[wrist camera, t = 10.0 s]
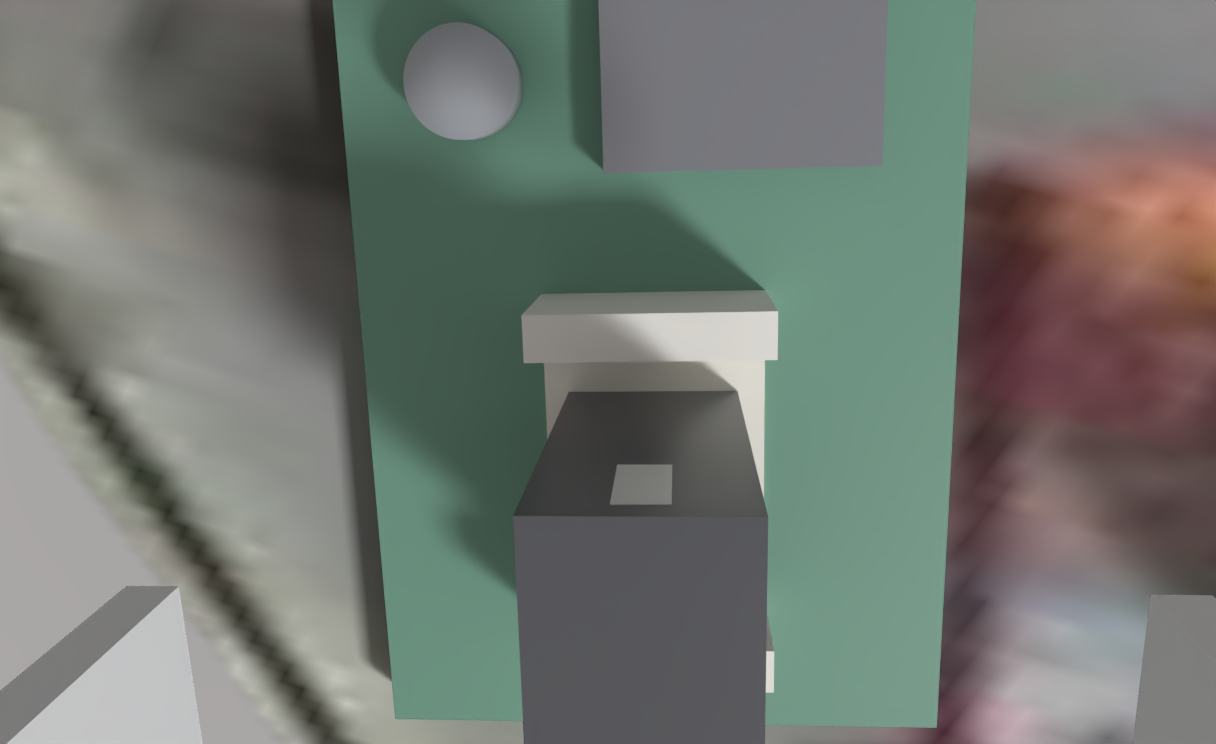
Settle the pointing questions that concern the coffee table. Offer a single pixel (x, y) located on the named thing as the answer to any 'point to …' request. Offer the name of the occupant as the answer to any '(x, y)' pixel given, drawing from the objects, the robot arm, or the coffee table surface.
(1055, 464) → the coffee table surface
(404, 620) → the board
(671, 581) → the plug
